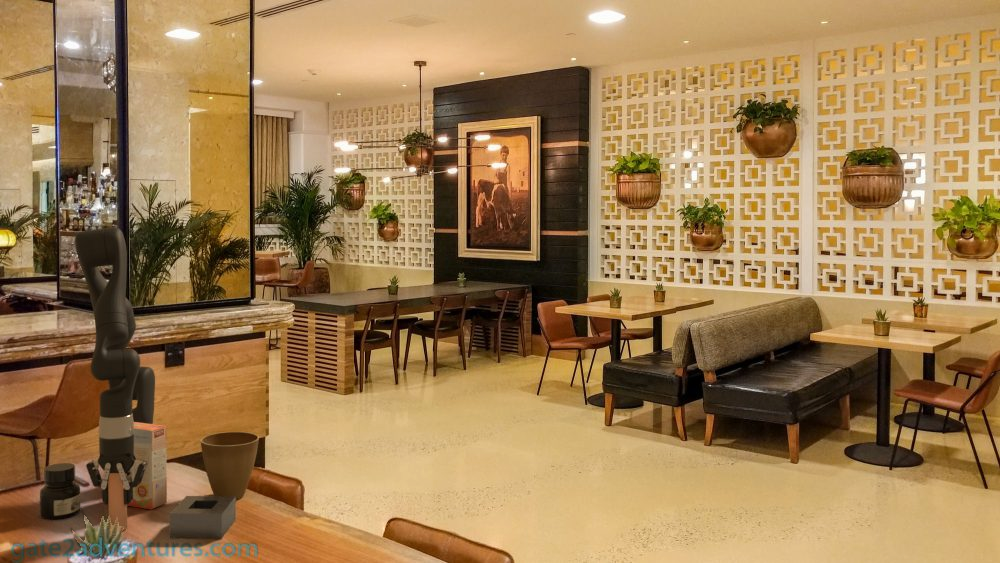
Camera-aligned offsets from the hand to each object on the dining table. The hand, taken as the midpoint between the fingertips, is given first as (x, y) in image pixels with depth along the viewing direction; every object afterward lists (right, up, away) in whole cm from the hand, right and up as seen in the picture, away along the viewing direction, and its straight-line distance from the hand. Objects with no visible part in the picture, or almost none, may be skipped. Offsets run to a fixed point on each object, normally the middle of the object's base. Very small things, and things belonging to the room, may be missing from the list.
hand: (117, 503), depth 198 cm
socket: (+20, -7, +2) cm, 21 cm away
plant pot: (+19, -5, +25) cm, 32 cm away
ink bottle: (-19, -5, +10) cm, 22 cm away
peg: (0, -6, +1) cm, 6 cm away
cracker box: (-3, -5, +18) cm, 19 cm away
